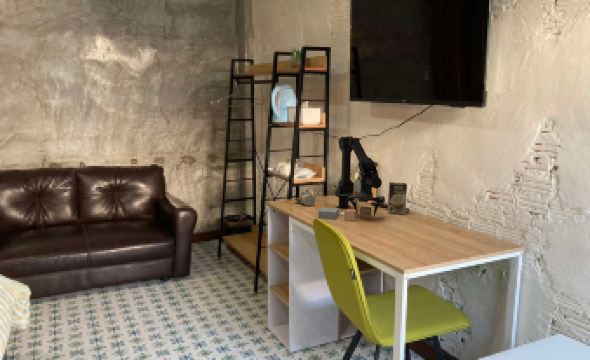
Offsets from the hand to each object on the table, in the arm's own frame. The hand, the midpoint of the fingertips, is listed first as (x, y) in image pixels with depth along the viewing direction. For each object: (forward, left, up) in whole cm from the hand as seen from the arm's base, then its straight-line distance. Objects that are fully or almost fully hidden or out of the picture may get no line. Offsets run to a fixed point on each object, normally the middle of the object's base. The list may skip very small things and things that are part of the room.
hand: (365, 214), depth 264 cm
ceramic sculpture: (-19, -38, -1) cm, 43 cm away
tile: (-2, -10, -1) cm, 10 cm away
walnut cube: (0, 0, -1) cm, 1 cm away
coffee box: (-15, +14, -1) cm, 21 cm away
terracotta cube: (+9, -6, -1) cm, 11 cm away
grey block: (+6, -18, -1) cm, 19 cm away
